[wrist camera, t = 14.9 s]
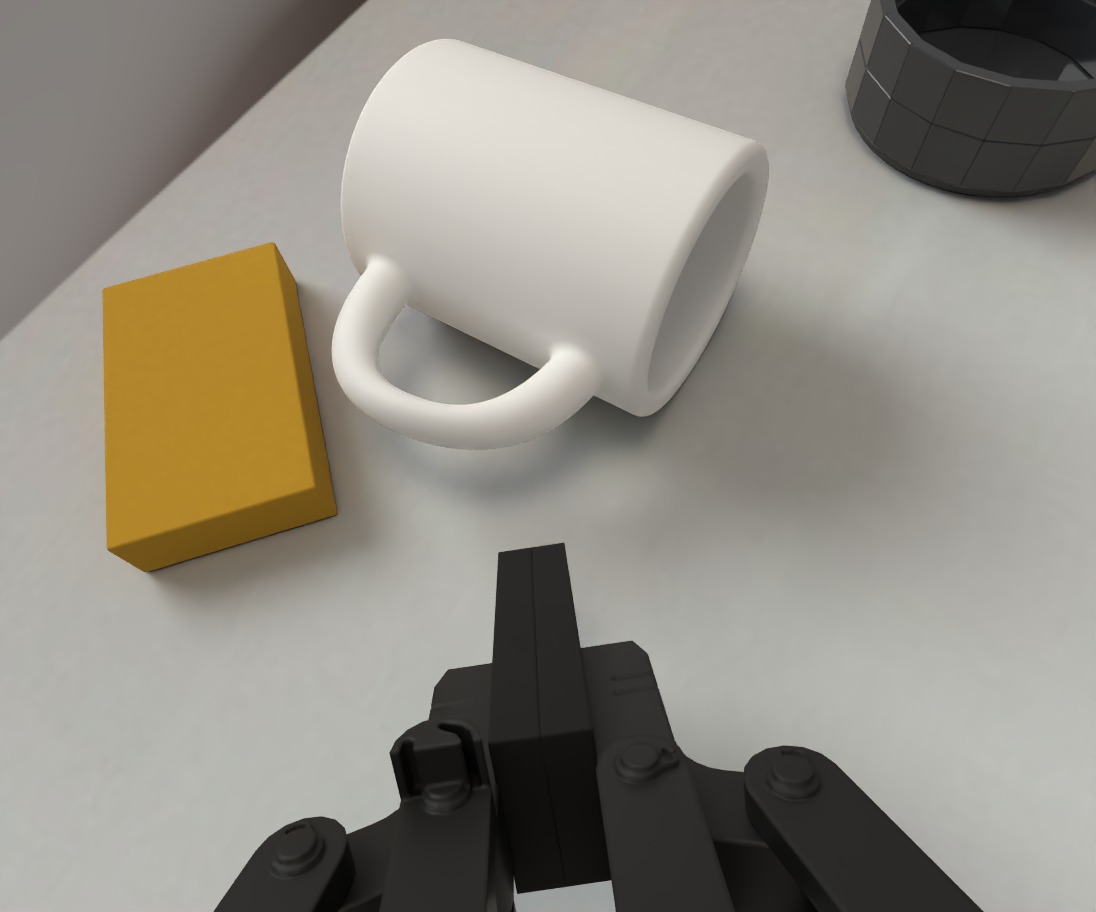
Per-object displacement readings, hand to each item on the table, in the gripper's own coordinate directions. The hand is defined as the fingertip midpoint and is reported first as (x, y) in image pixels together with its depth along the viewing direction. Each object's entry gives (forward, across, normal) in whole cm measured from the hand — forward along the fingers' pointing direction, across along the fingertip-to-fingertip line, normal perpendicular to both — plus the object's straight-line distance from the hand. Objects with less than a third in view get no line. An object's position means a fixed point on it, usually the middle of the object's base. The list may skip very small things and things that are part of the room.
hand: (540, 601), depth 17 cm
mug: (+10, +1, +4) cm, 11 cm away
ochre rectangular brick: (+10, -10, +4) cm, 14 cm away
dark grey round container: (+16, +19, +10) cm, 27 cm away
